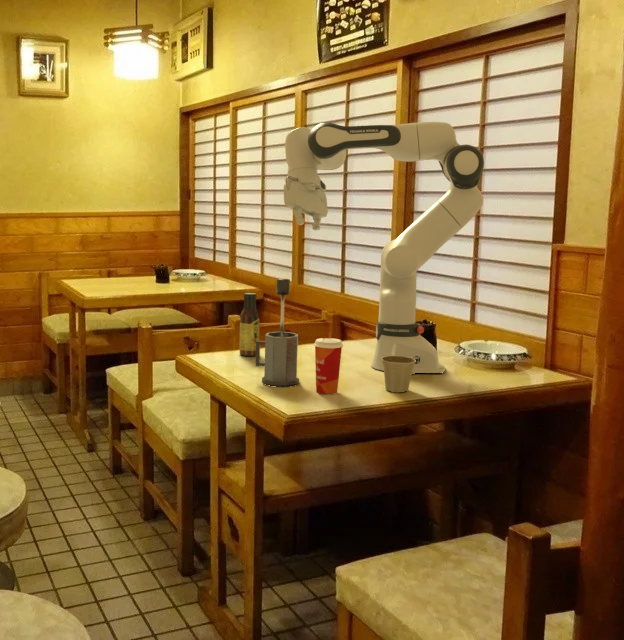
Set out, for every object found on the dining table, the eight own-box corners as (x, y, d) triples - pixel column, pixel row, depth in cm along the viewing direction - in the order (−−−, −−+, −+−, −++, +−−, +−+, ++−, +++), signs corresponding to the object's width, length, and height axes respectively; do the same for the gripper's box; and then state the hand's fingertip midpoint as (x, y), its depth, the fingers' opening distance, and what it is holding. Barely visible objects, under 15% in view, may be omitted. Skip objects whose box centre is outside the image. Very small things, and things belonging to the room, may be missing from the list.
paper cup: (310, 388, 214) (312, 337, 211) (338, 388, 214) (340, 337, 212) (314, 395, 206) (315, 343, 204) (343, 395, 207) (345, 343, 204)
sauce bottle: (257, 357, 250) (259, 295, 247) (238, 356, 250) (239, 294, 247) (259, 353, 257) (260, 292, 253) (240, 352, 257) (241, 291, 254)
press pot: (300, 378, 223) (301, 332, 221) (298, 388, 213) (299, 339, 211) (257, 377, 224) (258, 330, 222) (253, 386, 214) (254, 337, 211)
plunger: (293, 341, 220) (295, 278, 217) (291, 345, 214) (293, 280, 211) (271, 340, 220) (273, 277, 217) (269, 344, 214) (271, 280, 211)
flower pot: (420, 394, 211) (421, 362, 210) (387, 395, 209) (388, 363, 207) (406, 385, 220) (407, 355, 219) (374, 386, 218) (376, 356, 216)
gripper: (294, 171, 224) (300, 218, 222) (328, 186, 241) (334, 230, 239) (276, 176, 227) (281, 223, 225) (311, 191, 244) (316, 235, 242)
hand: (308, 227), depth 232 cm, fingers open, 8 cm apart
